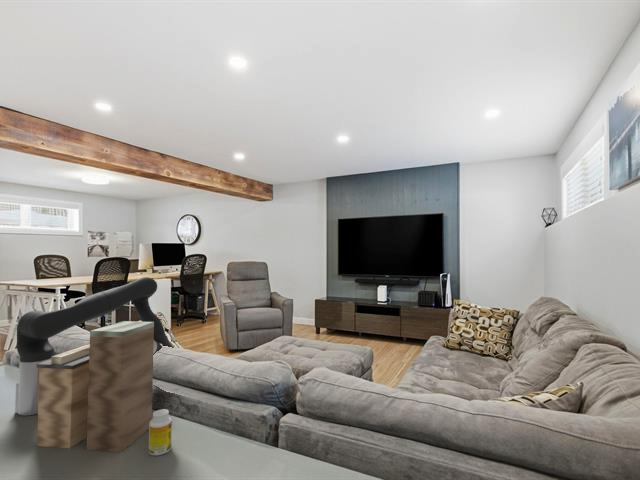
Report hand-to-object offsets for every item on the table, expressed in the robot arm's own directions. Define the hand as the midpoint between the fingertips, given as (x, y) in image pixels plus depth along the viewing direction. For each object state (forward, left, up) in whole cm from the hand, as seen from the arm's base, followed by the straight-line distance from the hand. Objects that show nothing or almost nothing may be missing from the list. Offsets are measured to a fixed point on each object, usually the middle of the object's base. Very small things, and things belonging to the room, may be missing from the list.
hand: (117, 332), depth 122 cm
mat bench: (0, -17, -26) cm, 31 cm away
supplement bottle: (+30, -23, -26) cm, 46 cm away
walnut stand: (+15, -18, -26) cm, 35 cm away
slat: (0, -14, -3) cm, 14 cm away
